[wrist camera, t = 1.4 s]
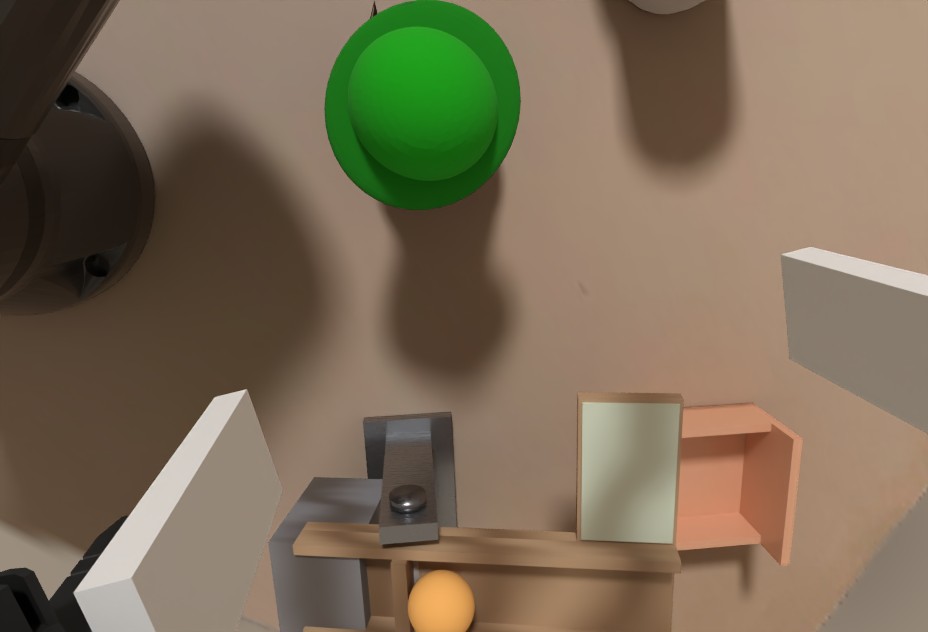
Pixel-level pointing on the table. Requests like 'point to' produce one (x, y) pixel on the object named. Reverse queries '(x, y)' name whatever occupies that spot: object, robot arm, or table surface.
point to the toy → (422, 104)
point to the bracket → (412, 474)
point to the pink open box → (737, 479)
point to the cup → (665, 5)
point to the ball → (441, 603)
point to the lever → (506, 543)
